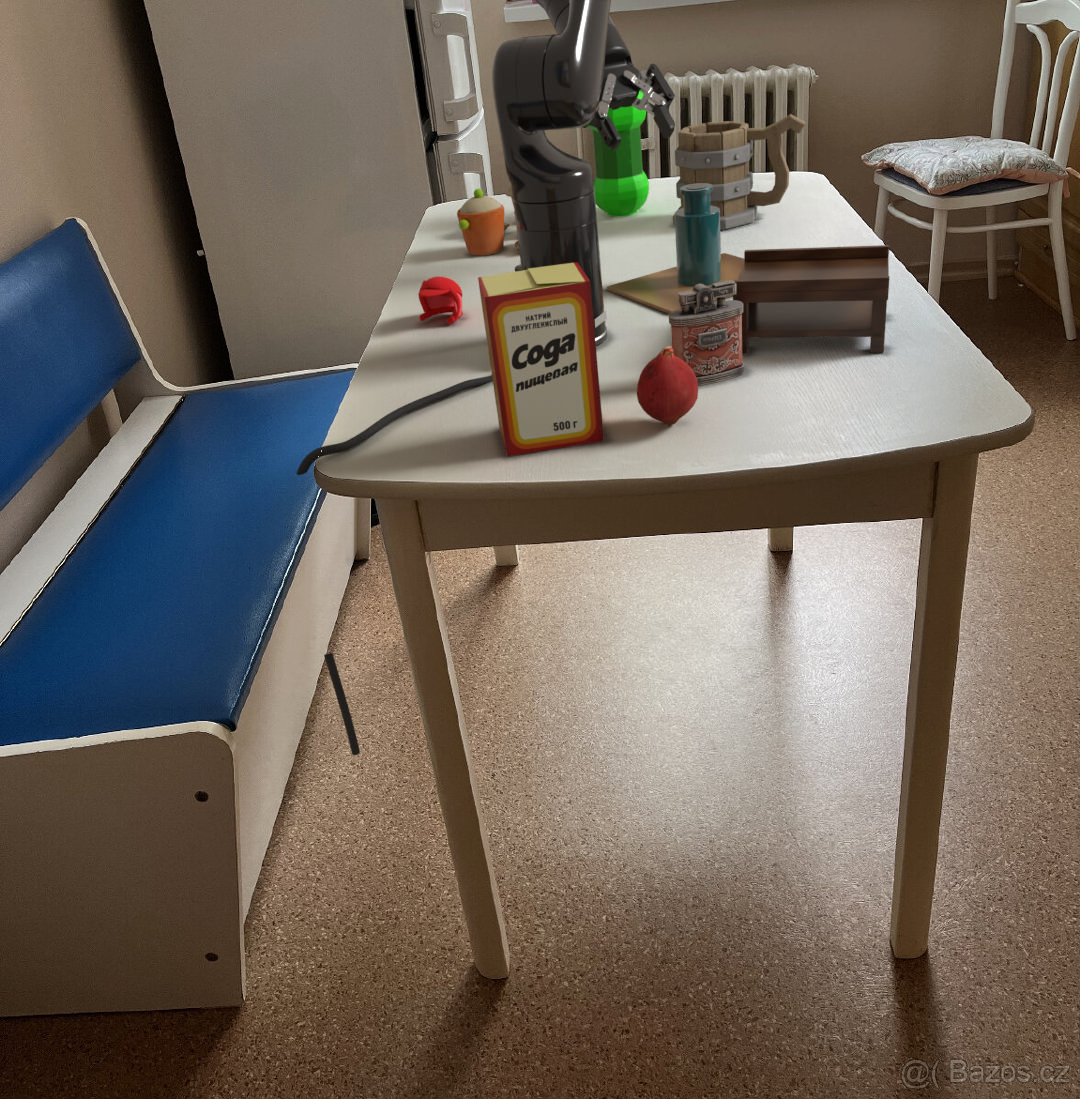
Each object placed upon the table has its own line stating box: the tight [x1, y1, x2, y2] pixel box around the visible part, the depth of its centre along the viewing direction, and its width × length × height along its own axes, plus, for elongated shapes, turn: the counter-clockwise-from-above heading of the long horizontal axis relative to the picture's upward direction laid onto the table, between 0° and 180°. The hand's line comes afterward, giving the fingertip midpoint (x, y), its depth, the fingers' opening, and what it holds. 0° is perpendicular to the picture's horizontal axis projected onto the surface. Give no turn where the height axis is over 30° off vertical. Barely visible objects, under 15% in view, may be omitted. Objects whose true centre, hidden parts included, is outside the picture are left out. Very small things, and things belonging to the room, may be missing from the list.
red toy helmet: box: [417, 276, 464, 326], centre depth 135 cm, size 8×6×6 cm
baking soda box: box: [477, 262, 605, 458], centre depth 98 cm, size 10×6×16 cm
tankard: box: [672, 113, 806, 231], centre depth 160 cm, size 20×13×15 cm, turn 73°
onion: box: [636, 345, 699, 426], centre depth 99 cm, size 6×6×8 cm
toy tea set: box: [456, 186, 519, 256], centre depth 168 cm, size 26×16×10 cm, turn 2°
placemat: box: [606, 252, 745, 315], centre depth 138 cm, size 20×15×1 cm
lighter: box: [668, 280, 745, 387], centre depth 107 cm, size 8×3×10 cm, turn 106°
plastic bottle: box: [587, 90, 650, 218], centre depth 169 cm, size 10×10×25 cm
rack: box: [732, 244, 890, 354], centre depth 115 cm, size 16×12×8 cm
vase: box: [674, 183, 722, 286], centre depth 135 cm, size 6×6×12 cm
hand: (644, 139), depth 138 cm, fingers open, 8 cm apart
